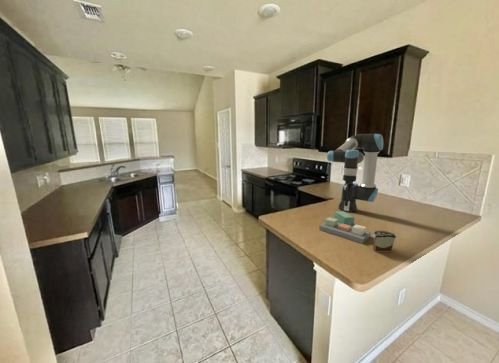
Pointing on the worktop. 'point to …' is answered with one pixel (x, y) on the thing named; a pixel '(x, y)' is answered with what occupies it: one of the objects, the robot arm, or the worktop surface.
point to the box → (344, 218)
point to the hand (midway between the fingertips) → (346, 210)
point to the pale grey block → (359, 230)
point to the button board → (345, 233)
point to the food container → (383, 241)
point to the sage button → (331, 222)
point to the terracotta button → (344, 227)
